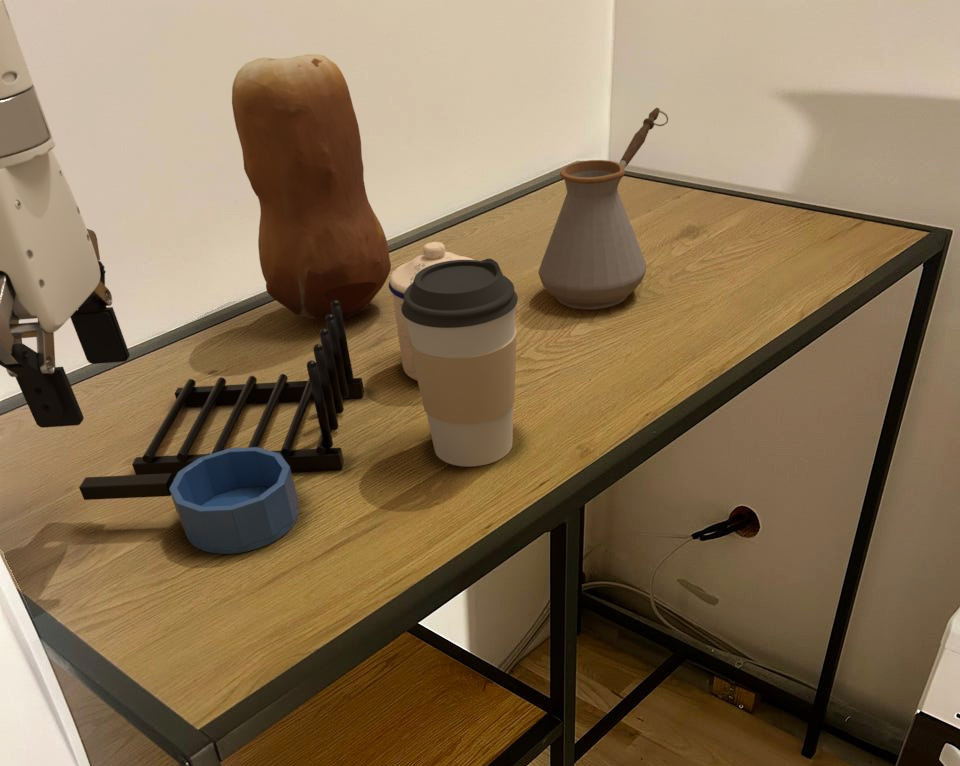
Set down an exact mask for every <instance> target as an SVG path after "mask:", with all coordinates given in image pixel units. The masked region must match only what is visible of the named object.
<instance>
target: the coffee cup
mask: <svg viewBox="0 0 960 766" xmlns="http://www.w3.org/2000/svg"><path fill="white" fill-rule="evenodd" d="M518 296H519V295H518V294H517V293H516V291H515V285H514V283H513V281H512V280H510V278H508V277H507V276H506V275H505V274H503V271H502V270H501V267H500V265H499V263H498V262H497V261H496V260H494V259H493V258H485V259H482V260H476V259H474V260H452V261H446V262H441V263H437V264H434V265H431V266H428V267H426V268H424V269H422V270H421V271H420V272H418V273H417V274H416V276H415V278H414V281H413V283H412V284H411V285H410V286H409V287H408V288H407V289H406V291H405V293H404V302H403V304H402V307H401V311H402V314H403V315H404V316H405V317H406V321H407V325H408V330H409V334H410V336H409V345H410V350H411V354H412V358H413V363H414V367H415V371H416V376H417V380H418V381H417V380H416V381H417V385H418V388H419V393H420V398H421V401H422V406H423V410H424V412H425V413H426V418H427V422H428V426H429V431H430V435H431V440H432V444H433V449H434V454H435V455H436V456H437V457H438V458H439V459H440V460H441V461H442V462H444V463H446V464H450V465H452V466H458V467H467V468H469V467H470V468H472V467H482V466H486V465H490V464H493V463H496V462H497V461H499V460H502V459H503V458H504V457H506V456H507V455H508V454H509V453H510V452H511V450H512V449H513V448H512V447H513V439H514V438H513V437H514V435H513V434H514V432H513V431H514V403H515V399H516V396H515V395H516V372H517V371H516V369H517V366H516V365H517V339H518V338H517V336H518V329H517V327H516V318H515V306H516V304H517V302H518V303H519V297H518Z"/></svg>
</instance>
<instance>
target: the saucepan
mask: <svg viewBox="0 0 960 766" xmlns="http://www.w3.org/2000/svg"><path fill="white" fill-rule="evenodd" d="M273 451H274V450H269V449H265V448H262V447H260V446H259V447H250V448H248V447H232V448H231V447H230V448H225V449H224V450H223V451H219V452H216V453H213V454H211V453H209V454H210V455H206V456H203V457H200V458H198V459H197V460H195V461H194V462H192V463H191V464H189V465H188V466H186V467H185V468H183V469H182V470H180V471H179V472H178V473H177V475H176V477H172V474H171V473H168V474H147V475H136V474H128V475H105V476H86V477H84V479H83V481H82V482H81V483H80V485H79V487H78V489H79V491H80V493H81V496H82V498H83V500H84V501H90V500H91V501H93V500H94V501H95V500H112V499H113V500H114V499H137V498H138V499H139V498H140V499H141V498H159V497H171V499H172V503H173V505H174V507H175V510H176V513H177V516H178V519H179V522H180V525H181V527H182V529H183V531H184V533H185V536H186V538H187V540H188V541H189V543H190V544H191V545H192V546H194V547H195V548H197V549H198V550H201V551H203V552H206V553H210V554H211V553H212V554H217V555H218V554H219V555H231V554H232V555H233V554H240V553H241V554H242V553H247V552H251V551H254V550H259V549H260V548H264V547H266V546H268V545H270V544H273V543H274V542H276V541H277V540H279V539H281V538H282V537H283V536H285V535H286V534H287V533H288V532H290V531H291V530H292V528H293V527H294V525H295V524H296V522H297V520H298V517H299V498H298V494H297V490H296V485H295V482H294V478H293V474H292V473H293V472H291V469H290V466H289V465H288V464H287V462H286V461H285V460H284V458H283V457H282V455H281V454H279V453H276V452H273Z"/></svg>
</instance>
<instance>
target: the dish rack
mask: <svg viewBox="0 0 960 766" xmlns="http://www.w3.org/2000/svg"><path fill="white" fill-rule="evenodd" d="M331 307H332V312H333V315H332V314H328V315H326V318H324V319H325V324H326V328H321V329H320V330H319V338H320V343H321V344H320V343H315V344H314V345H313V348H312V350H313V355H314V358H315V360H309V361H307V363H306V371H307V374H308V379H307V380H295V381H288V376H287V375H286V374H285V373H281V374H279V376H278V378H277V380H276V381H275V382H259V383H257V381H258V379H257V378H256V376H254V375H249V377H247V380H246V382H245V383H239V384H227V379H225V377H218V379H217V380H216V382H215V383H214V385H203V386H196V385H197V383H196V381H195V379H193V378H189V379H187V380H186V382H185V384H184V386H183V387H177V388H176V389H175V392H174V396H175V401H174V403H173V405H172V407H171V408H170V410H169V411H168V413H167V414H166V416H165V418H164V420H163V421H162V423H161V425H160V426H159V429H158V430H157V432H156V433H155V434H154V437H153V438H152V440H151V441H150V443H149V445H148V447H147V449H146V450H145V452H144V453H143V455H142V456H136V457H135V458H134V460H133V462H132V463H131V465H132V468H133V471H134V475H147V474H168V473H171V474H172V477H173V478H175V477H176V475H177V473H178V472H179V471H180V470H182V469H183V468H185V467H186V466H188V465H189V464H191V463H192V462H194V461H195V460H197V459H198V458H200V457H203V456H206V455H210V454H213V453H216V452H219V451H223V450H226V447H227V445H228V443H229V441H230V438H231V437H232V435H233V433H234V430H235V428H236V426H237V424H238V422H239V419H240V417H241V415H242V413H243V411H244V409H245V407H246V405H249V404H266V406H265V407H264V410H263V413H262V415H261V417H260V419H259V421H258V424H257V425H256V428H255V430H254V433H253V435H252V437H251V440H250V441H249V444H248V447H247V448H250V447H259V448H260V446H261V443H262V441H263V438H264V436H265V434H266V431H267V429H268V427H269V424H270V423H271V420H272V417H273V415H274V412H275V410H276V408H277V405H278V403H287V402H299V403H298V406H297V408H296V410H295V413H294V416H293V418H292V421H291V423H290V426H289V428H288V431H287V434H286V435H285V439H284V441H283V444H282V446H281V449H280V450H272V451H273V452H276V453H279V454H281V455H282V457H283V458H284V460H285V461H286V462H287V464H288V465H289V466H290V469H291V473H294V472H295V473H297V472H315V471H316V472H317V471H338V470H340V471H341V470H342V469H343V467H344V463H345V460H344V456H343V451H342V450H343V449H342V447H333V445H334V442H333V436H332V432H333V431H337V430H339V421H338V417H337V416H338V414H342V413H344V410H345V408H344V402H343V400H344V399H361V398H362V399H363V397H364V394H365V388H364V382H363V381H364V380H363V378H362V377H354V373H353V367H352V363H351V356H350V351H349V346H348V339H347V334H346V329H345V328H346V327H345V323H344V319H343V317H342V312H341V306H340V302H339V301H338V300H333V301H332V302H331ZM311 401H313V402H314V407H315V412H316V416H317V421H318V425H319V426H318V427H319V431H320V436H319V439H318V442H317V445H316V448H303V449H302V448H301V449H300V448H299V449H293V448H294V444H295V442H296V439H297V436H298V434H299V431H300V429H301V426H302V423H303V421H304V419H305V415H306V413H307V410H308V407H309V404H310V402H311ZM228 405H234V407H233V408H232V411H231V412H230V415H229V417H228V418H227V421H226V423H225V425H224V427H223V429H222V431H221V433H220V435H219V437H218V438H217V441H216V443H215V445H214V446H213V450H212V451H211V453H200V454H199V453H198V454H190V453H191V451H192V449H193V447H194V446H195V443H196V441H197V439H199V438H198V437H199V436H200V434H201V432H202V430H203V428H204V426H205V425H206V422H207V420H208V418H209V416H210V415H211V413H212V411H213V409H214V407H215V406H228ZM190 407H201V409H200V412H199V413H198V415H197V417H196V419H195V421H194V423H193V424H192V426H191V428H190V429H189V432H188V434H187V435H186V437H185V439H184V440H183V443H182V445H181V446H180V449H179V450H178V452H177V454H176V455H158V456H157V455H156V454H158V451H159V449H160V448H161V446H162V444H163V442H164V441H165V439H166V437H167V435H168V434H169V432H170V430H171V429H172V427H173V425H174V423H175V422H176V420H177V419H178V417H179V415H180V413H181V412H182V409H183V408H190Z"/></svg>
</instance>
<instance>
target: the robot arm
mask: <svg viewBox="0 0 960 766" xmlns="http://www.w3.org/2000/svg"><path fill="white" fill-rule="evenodd" d="M42 106H43V105H42V104H41V100H40V98H39V95H38V92H37V90H36V87H35V85H34V82H33V79H32V76H31V74H30V71H29V68H28V64H27V62H26V60H25V56H24V54H23V51H22V48H21V46H20V42H19V40H18V36H17V34H16V31H15V29H14V26H13V23H12V20H11V17H10V15H9V13H8V9H7V7H6V4H5V1H4V0H0V366H1V367H2V368H4V369H5V370H6V372H7V374H8V376H9V377H11V378H15V379H16V382H17V384H18V386H19V389H20V391H21V393H22V395H23V397H24V400H25V402H26V404H27V407H28V409H29V411H30V413H31V415H32V417H33V420H34V422H35V424H36V425H37V426H38V427H39V428H43V429H44V428H58V427H59V428H60V427H71V426H72V427H73V426H79V425H81V423H82V422H83V421H84V415H83V414H84V413H83V412H82V409H81V407H80V405H79V402H78V400H77V397H76V395H75V393H74V390H73V388H72V385H71V383H70V381H69V378H68V376H67V373H66V371H65V369H64V366H56V353H55V351H56V350H55V332H57V331H59V330H60V329H61V327H62V326H63V325H65V323H67V321H68V320H69V319H70V320H71V323H72V326H73V328H74V330H75V333H76V336H77V338H78V341H79V343H80V345H81V349H82V351H83V353H84V356H85V359H86V361H87V362H88V363H90V364H91V365H98V364H99V365H100V364H109V363H110V364H112V363H113V364H114V363H123V362H126V361H128V359H129V358H130V356H131V355H130V352H129V348H128V347H127V343H126V340H125V338H124V334H123V332H122V329H121V327H120V324H119V320H118V318H117V315H116V313H115V310H114V307H113V306H112V304H113V295H112V293H111V291H110V289H109V288H108V287H107V286H106V272H107V271H106V270H105V268H106V267H105V265H104V264H103V263H102V261H101V257H100V249H99V243H98V238H97V234H96V233H95V231H94V230H92V229H90V228H87V225H86V222H85V220H84V218H83V215H82V213H81V211H80V208H79V206H78V203H77V201H76V198H75V196H74V194H73V191H72V189H71V187H70V184H69V182H68V179H67V178H66V176H65V173H64V170H63V169H62V167H61V165H60V163H59V160H58V158H57V156H56V154H55V152H54V150H53V149H54V148H55V147H56V143H55V140H54V136H53V135H52V132H51V129H50V126H49V123H48V121H47V118H46V115H45V113H44V112H45V111H44V109H43V107H42ZM32 319H33V320H34V319H37V321H34V322H21V323H20V321H21V320H22V321H23V320H32ZM28 338H30V339H31V338H36V350H34V349H32V348H31V347H29V346H28V345H26V344H25V343H23V339H28Z"/></svg>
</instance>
